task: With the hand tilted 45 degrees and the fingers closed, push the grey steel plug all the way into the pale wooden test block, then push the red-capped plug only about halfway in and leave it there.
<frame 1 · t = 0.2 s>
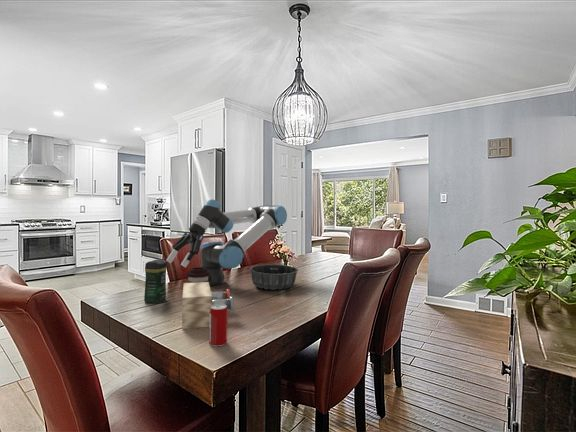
hand: (175, 264, 149), 16 cm above the table, tool tilted 35°, fingers open, 13 cm apart
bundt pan: (273, 286, 173), on the table
test block: (209, 316, 124), on the table
steel plug: (216, 304, 119), point 6 cm above the table, slide at 0.0 cm
coffee jar: (155, 301, 143), on the table
red plug: (214, 296, 130), point 6 cm above the table, slide at 0.0 cm
coffee cup: (197, 302, 143), on the table
soda can: (218, 344, 99), on the table
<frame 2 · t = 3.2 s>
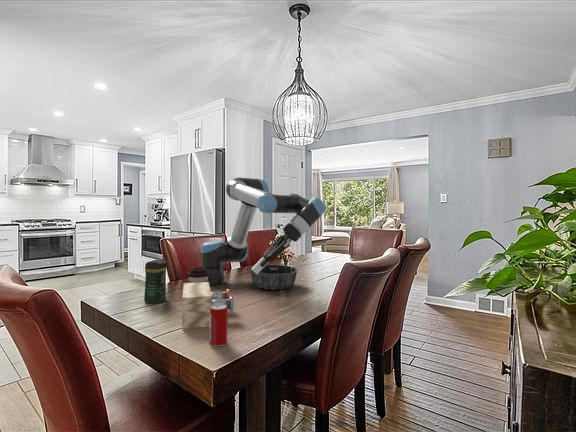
hand: (254, 271, 123), 18 cm above the table, tool tilted 45°, fingers closed
nothing on the table moved.
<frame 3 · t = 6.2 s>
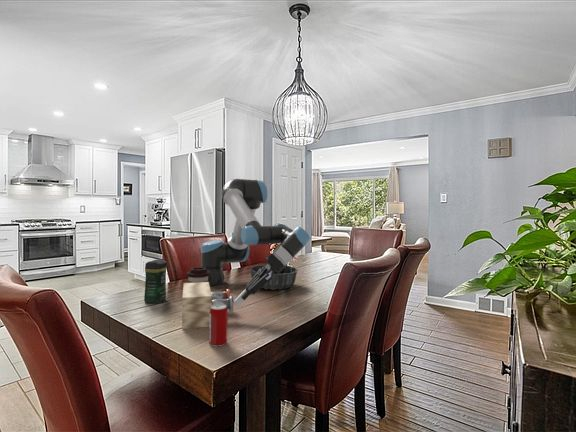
hand: (235, 304, 121), 6 cm above the table, tool tilted 45°, fingers closed
steel plug: (216, 304, 119), point 6 cm above the table, slide at 0.1 cm, touching gripper
everything else where it was.
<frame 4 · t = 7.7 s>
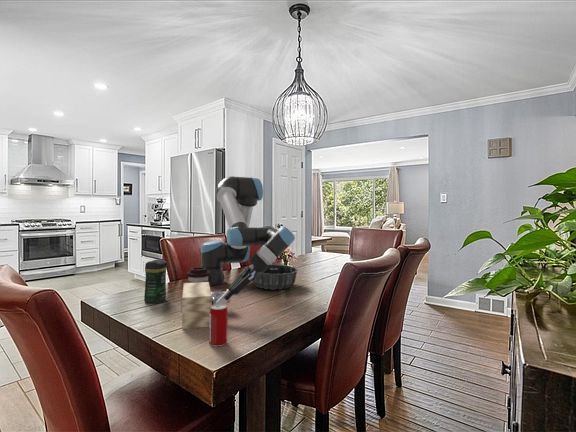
hand: (218, 304, 119), 6 cm above the table, tool tilted 45°, fingers closed
steel plug: (198, 306, 117), point 6 cm above the table, slide at 6.5 cm, touching gripper
everything else where it was.
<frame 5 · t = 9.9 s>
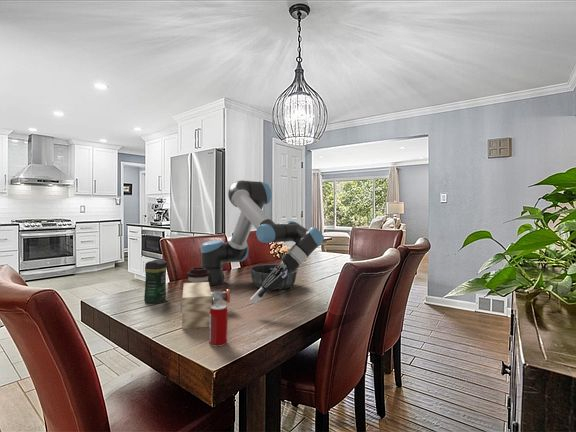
hand: (252, 301, 125), 6 cm above the table, tool tilted 45°, fingers closed
steel plug: (198, 306, 117), point 6 cm above the table, slide at 6.6 cm
everything else where it was.
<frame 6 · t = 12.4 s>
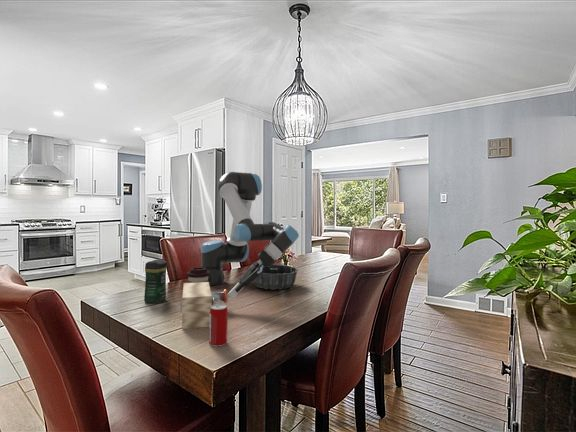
hand: (229, 296, 131), 6 cm above the table, tool tilted 45°, fingers closed
red plug: (211, 297, 129), point 6 cm above the table, slide at 1.1 cm, touching gripper
everything else where it was.
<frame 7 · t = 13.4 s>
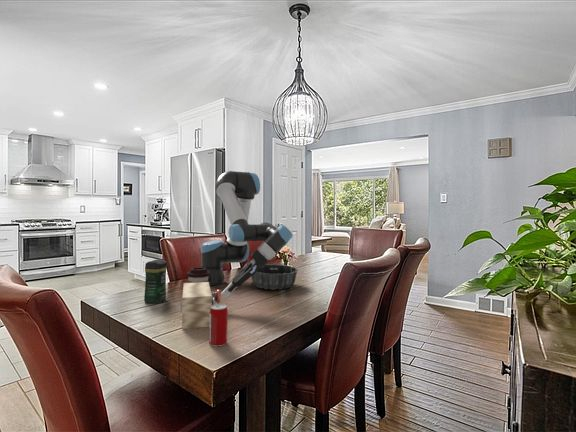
hand: (222, 296, 131), 6 cm above the table, tool tilted 45°, fingers closed
red plug: (204, 297, 128), point 6 cm above the table, slide at 3.9 cm, touching gripper
everything else where it was.
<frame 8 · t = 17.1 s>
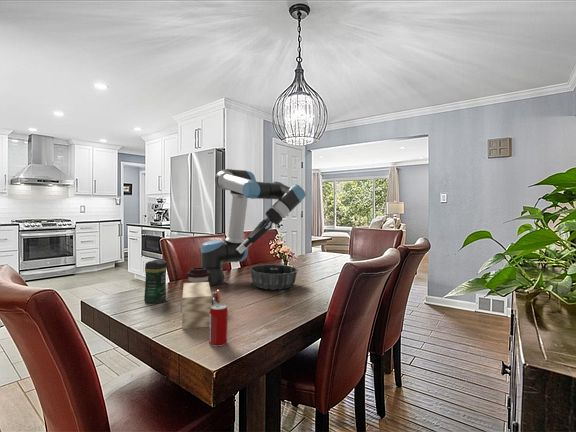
hand: (238, 251, 135), 24 cm above the table, tool tilted 45°, fingers closed
red plug: (204, 297, 128), point 6 cm above the table, slide at 4.0 cm
everything else where it was.
at the end: steel plug slide at 6.6 cm; red plug slide at 4.0 cm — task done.
